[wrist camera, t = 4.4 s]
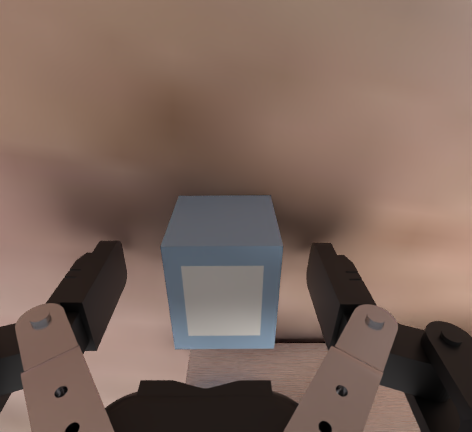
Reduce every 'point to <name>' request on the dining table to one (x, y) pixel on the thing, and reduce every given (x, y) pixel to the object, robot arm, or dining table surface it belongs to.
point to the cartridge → (223, 272)
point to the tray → (292, 378)
